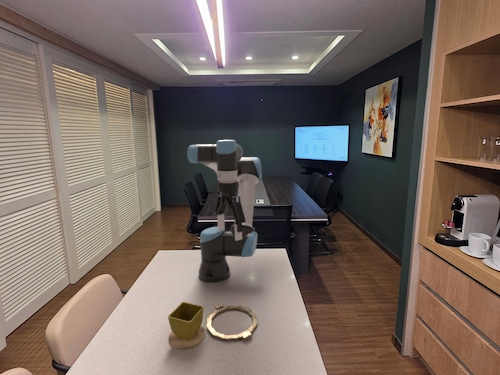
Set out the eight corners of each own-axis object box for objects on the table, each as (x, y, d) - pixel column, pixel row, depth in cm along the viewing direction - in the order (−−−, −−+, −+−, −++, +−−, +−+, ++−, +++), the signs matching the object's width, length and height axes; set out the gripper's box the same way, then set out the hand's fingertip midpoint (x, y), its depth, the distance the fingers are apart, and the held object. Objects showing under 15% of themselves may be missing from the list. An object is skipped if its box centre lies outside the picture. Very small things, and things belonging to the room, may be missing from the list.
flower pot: (191, 347, 91) (190, 322, 89) (169, 340, 94) (167, 316, 92) (205, 329, 99) (204, 306, 97) (184, 323, 102) (182, 301, 100)
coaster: (164, 333, 98) (164, 331, 98) (196, 320, 105) (196, 318, 105) (176, 355, 88) (175, 353, 88) (210, 339, 95) (210, 337, 95)
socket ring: (197, 316, 106) (197, 313, 106) (238, 300, 116) (237, 297, 116) (224, 352, 89) (224, 347, 89) (269, 329, 99) (269, 325, 99)
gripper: (204, 178, 115) (207, 227, 119) (236, 187, 94) (237, 247, 99) (220, 176, 119) (222, 224, 123) (254, 184, 98) (255, 242, 103)
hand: (229, 234), depth 111 cm, fingers open, 13 cm apart
